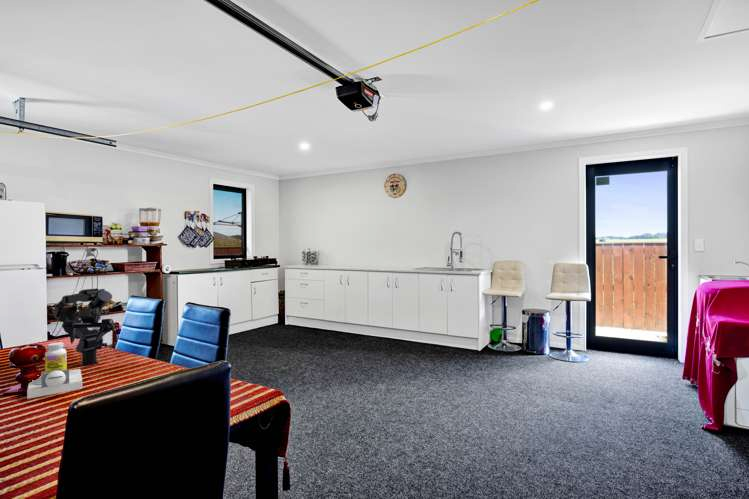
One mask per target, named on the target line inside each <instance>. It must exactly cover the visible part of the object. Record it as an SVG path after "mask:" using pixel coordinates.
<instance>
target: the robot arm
mask: <svg viewBox="0 0 749 499" xmlns="http://www.w3.org/2000/svg"><path fill="white" fill-rule="evenodd" d="M112 299H113V295H112V293H110V292H109V291H108V290H106V288H101V289H99V288H87V289H85V288H84V289H82V290H79V291H78V293H73V294H68V295H64V296H62V297H61V300H59V302H57V304H56V305H55V306H54V308H53V311H52V316H53V317H54V318H55V320H56V321H58V322H61V323H62V325H61V327H62V328H63V330H64V332H65V333H66V334H68V335H69V340H70V343H71V344H73V343H74V342H75V341H76V340H75V339H76V337H78V338H79V341H78V343H77V344H76V347H75V350H76V352H77V353H80V354H81V362H80V366H81V367H84V366H91V365H99V360H98V350H101V349H103V342H104V338H103V337H104V336H105V335H106V334H108V333H110V332H111V331H114V330H115V328H116V324H115V322H114V319H113V318H102V319H101V314H102V312H103V309H104V308H105V307H106V306H107V304H109V303H110V301H112ZM77 302H80V303H87V302H88V305H87V308H85V309H84V308H83V309H79V311H78V308H79V307H78V305H77ZM68 304H72V305H68ZM66 305H68V306H66ZM77 312H78V315H77ZM99 320H101V321H100V322H99ZM93 328H95V329H93ZM97 328H99V329H98V330H97Z"/></svg>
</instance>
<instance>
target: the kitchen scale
mask: <svg viewBox="0 0 749 499" xmlns="http://www.w3.org/2000/svg"><path fill="white" fill-rule="evenodd" d="M40 375H41V376H40V377H39V378H38V379H36V380H32V382H30V383H29V382H28V385H27V386H28V387H27V390H26V394H27V395H26V396H27V397H26V398H27V400H28V399H33V398H35V399H36V398H39V397H44V396H51V395H55V394H61V393H66V392H72V391H78V390H81V389H83V376H82V371H81V368H76V369H70V368H67V369H64V370H58V371H51V372H45V371H44V372H41V374H40Z"/></svg>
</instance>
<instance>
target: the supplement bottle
mask: <svg viewBox="0 0 749 499" xmlns="http://www.w3.org/2000/svg"><path fill="white" fill-rule="evenodd" d="M47 347H48V350H47V351H45V354H44V373H45V372H51V371H58V370H64V369H68V367H67V366H68V363H67V362H68V361H67V360H68V359H67V358H68V357H67V354H68V353H67V350H66V349H65V348H63V347H64V342H59V341H58V342H53V343H49V344H48V345H47Z"/></svg>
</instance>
